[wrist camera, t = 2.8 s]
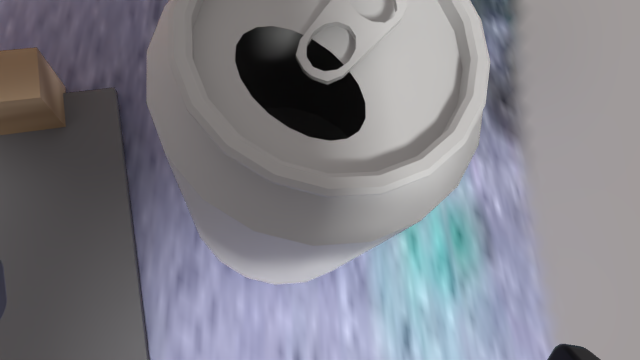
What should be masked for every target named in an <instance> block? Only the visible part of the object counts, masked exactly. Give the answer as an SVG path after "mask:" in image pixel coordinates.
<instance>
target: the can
mask: <svg viewBox="0 0 640 360" xmlns="http://www.w3.org/2000/svg"><path fill="white" fill-rule="evenodd" d="M489 68H490V59H489V54H488V49H487V45H486V40H485V36H484V31H483V27H482V22H481V19H480V17H479V15H478V13H477V12H476V10H475V8H474V6H473V5H472V3H471V1H470V0H170V1H169V2H168V3H167V4H166V5H165V7H164V9H163V12H162V14H161V17H160V19H159V22H158V24H157V27H156V29H155V32H154V34H153V37H152V39H151V42H150V44H149V47H148V49H147V83H146V103H147V106H148V108H149V111H150V114H151V117H152V119H153V122H154V125H155V127H156V130H157V133H158V136H159V138H160V141H161V144H162V146H163V149H164V152H165V155H166V157H167V159H168V162H169V164H170V166H171V169H172V171H173V174H174V176H175V178H176V181H177V183H178V185H179V188H180V190H181V193H182V195H183V197H184V200H185V202H186V204H187V207H188V209H189V212H190V214H191V216H192V219H193V221H194V224H195V226H196V228H197V231H198V233H199V235H200V238H201V239H202V240H203V241H204V243H205V244H206V245H207V246H208V248H209V249H210V250H211V251H212V252H213V254H214V255H215V256H216V257H217V259H218V260H219V261H220V262H222V263H223V264H225V265H226V266H228V267H230V268H231V269H233V270H234V271H236V272H238V273H239V274H241V275H242V276H244V277H246V278H250V279H254V280H258V281H262V282H266V283H270V284H274V285H280V284H292V283H304V282H308V281H310V280H313V279H315V278H317V277H319V276H322V275H324V274H326V273H329V272H331V271H333V270H335V269H337V268H339V267H340V266H342V265H344V264H346V263H347V262H349V261H351V260H353V259H354V258H356V257H358V256H360V255H361V254H363V253H365V252H367V251H368V250H370V249H372V248H374V247H376V246H377V245H379V244H381V243H383V242H384V241H386V240H388V239H390V238H391V237H393V236H395V235H397V234H398V233H400V232H402V231H404V230H405V229H407V228H409V227H411V226H412V225H414V224H416V223H418V222H419V221H421V220H422V219H423V218H424V217H425V216H426V215H427V214H428V213H430V212H431V211H432V210H433V209H434V208H435V207H436V206H437V205H438V204H439V203H440V202H441V201H442V200H444V199H445V198H446V197H447V196H448V195H449V194H450V193H451V192H452V191H453V190H454V189H455V188H457V186H458V184H459V182H460V180H461V178H462V177H463V175H464V173H465V171H466V169H467V167H468V165H469V163H470V161H471V159H472V157H473V155H474V153H475V151H476V149H477V147H478V145H479V138H480V129H481V121H482V112H483V108H484V106H485V103H486V94H487V85H488V77H489Z"/></svg>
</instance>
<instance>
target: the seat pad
mask: <svg viewBox="0 0 640 360" xmlns="http://www.w3.org/2000/svg"><path fill="white" fill-rule="evenodd" d="M63 100H64V111H65V123H66V127H61V128H53V129H45V130H37V131H29V132H22V133H14V134H6V135H0V260H1V261H2V263H3V267H4V275H5V284H6V293H7V305H6V309H5V311H4V314H3V316H2V318H1V320H0V360H149V354H148V346H147V338H146V330H145V321H144V313H143V305H142V296H141V288H140V280H139V271H138V263H137V255H136V247H135V238H134V230H133V222H132V213H131V205H130V197H129V188H128V180H127V172H126V163H125V155H124V147H123V139H122V130H121V122H120V114H119V105H118V97H117V91H116V89H115V88H106V89H97V90H88V91H79V92H70V93H63Z"/></svg>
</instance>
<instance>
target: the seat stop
mask: <svg viewBox="0 0 640 360" xmlns="http://www.w3.org/2000/svg"><path fill="white" fill-rule="evenodd" d="M63 93H66V90H65V86H64V85H63V83H62V82H61V80H60V79H59V78H58V76H57V75H56V74H55V72H54V71H53V69H52V68H51V67H50V65H49V64H48V62H47V61H46V60H45V58H44V57H43V55H42V54H41V53H40V51H39V50H38V49H37V47H36V48H25V49H14V50H3V51H0V135H6V134H14V133H22V132H29V131H37V130H45V129H53V128H61V127H66V123H65V111H64V100H63Z"/></svg>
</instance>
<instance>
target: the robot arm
mask: <svg viewBox="0 0 640 360" xmlns="http://www.w3.org/2000/svg"><path fill="white" fill-rule="evenodd" d="M6 305H7V293H6V284H5V275H4V267H3V263H2V261H1V260H0V320H1V318H2V316H3V314H4V311H5V309H6ZM547 360H600V359H599V358H598V357H596V356H595V355H594V354H593V353H591V352H590V351H589V350H587V349H586V348H584V347H581V346H575V345H569V344H560V345H558V346H556V347H555V348H554V350H553V351H552V353H551V355H550V356H549V358H548V359H547Z"/></svg>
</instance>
